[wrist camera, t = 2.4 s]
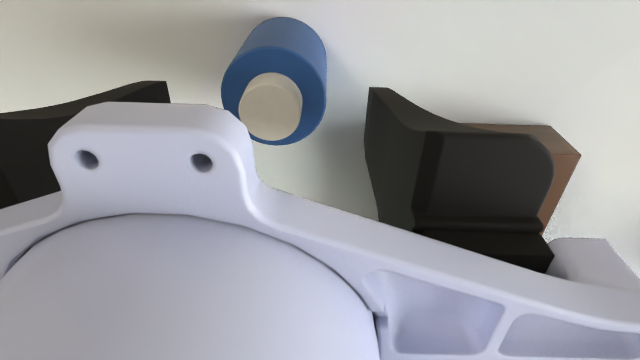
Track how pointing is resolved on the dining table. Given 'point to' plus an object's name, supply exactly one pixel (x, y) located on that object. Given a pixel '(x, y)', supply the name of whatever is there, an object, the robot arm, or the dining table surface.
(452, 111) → the dining table surface
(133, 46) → the dining table surface
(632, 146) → the dining table surface
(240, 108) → the blue bottle
